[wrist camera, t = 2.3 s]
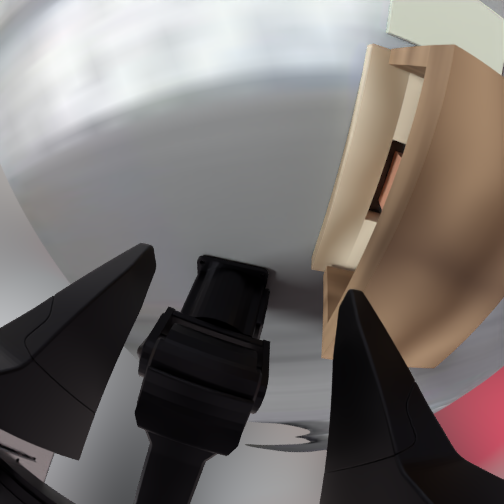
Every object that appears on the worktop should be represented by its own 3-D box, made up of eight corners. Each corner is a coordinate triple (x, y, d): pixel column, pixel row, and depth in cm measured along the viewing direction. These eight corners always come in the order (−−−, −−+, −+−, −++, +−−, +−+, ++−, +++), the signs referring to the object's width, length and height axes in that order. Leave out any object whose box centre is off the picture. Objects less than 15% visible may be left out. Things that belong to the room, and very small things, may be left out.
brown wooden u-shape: (323, 275, 21) (321, 358, 15) (391, 49, 10) (454, 44, 4) (417, 294, 20) (434, 368, 15) (504, 110, 9) (578, 154, 4)
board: (311, 257, 23) (311, 269, 21) (367, 45, 11) (372, 43, 10) (453, 288, 21) (457, 299, 20) (530, 136, 10) (540, 142, 9)
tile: (385, 33, 11) (388, 32, 10) (394, -40, 6) (396, -43, 6) (493, 89, 10) (498, 91, 9) (502, 21, 6) (507, 21, 5)
